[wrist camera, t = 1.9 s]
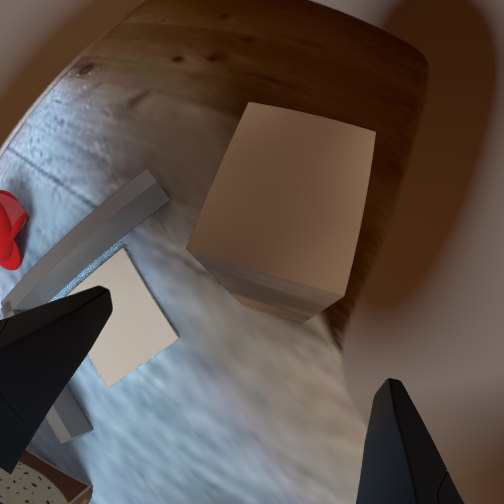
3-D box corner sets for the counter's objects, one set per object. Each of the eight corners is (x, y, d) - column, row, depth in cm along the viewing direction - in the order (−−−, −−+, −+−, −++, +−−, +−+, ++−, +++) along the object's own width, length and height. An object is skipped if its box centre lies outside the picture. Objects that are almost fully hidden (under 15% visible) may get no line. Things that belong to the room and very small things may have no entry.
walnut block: (322, 252, 20) (375, 132, 8) (302, 323, 19) (344, 295, 7) (266, 236, 21) (248, 102, 9) (243, 305, 20) (186, 248, 8)
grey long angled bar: (257, 318, 20) (253, 315, 17) (82, 436, 18) (61, 444, 15) (161, 187, 23) (147, 168, 20) (22, 309, 21) (-1, 303, 18)
